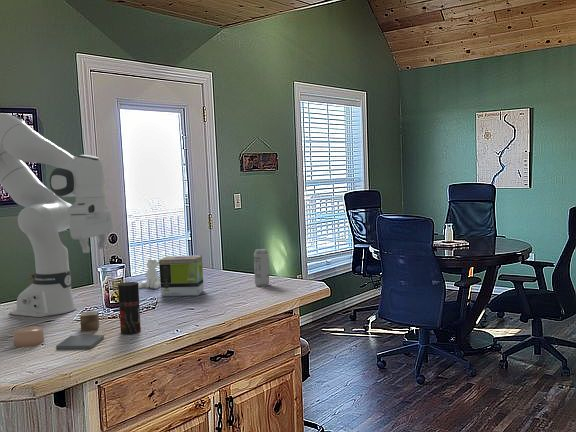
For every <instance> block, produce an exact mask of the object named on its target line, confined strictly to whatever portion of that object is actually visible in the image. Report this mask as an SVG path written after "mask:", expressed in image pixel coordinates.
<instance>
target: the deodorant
mask: <svg viewBox="0 0 576 432" xmlns="http://www.w3.org/2000/svg"><path fill="white" fill-rule="evenodd" d="M138 284H139V282H136V281H125V282H121V283H118V284H117V287H118V288H117V289H118V304H119V305H118V306H119V323H120V334H121V335H125V336H128V335H129V336H131V335H135V334H139V333H141V330H142V329H141V328H142V327H141V311H140V310H141V309H140V308H141V307H140V294H139V293H140V291H139V289H140V288H138Z"/></svg>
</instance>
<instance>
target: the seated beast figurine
mask: <svg viewBox="0 0 576 432" xmlns="http://www.w3.org/2000/svg"><path fill="white" fill-rule="evenodd" d="M146 266H147V270H146V273H145V276H146V279H145V280H143V281H141V282H138V288H139V289H143V288H145V289H146V288H149V287H150V288H151V289H155V290H156V289H159V288H160V286H161V284H160V275H158V274H159V273H158V270H157V268H158V266H159V261H157V259H154V258H149V259H147V263H146ZM150 288H149V289H150Z"/></svg>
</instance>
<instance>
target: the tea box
mask: <svg viewBox="0 0 576 432" xmlns="http://www.w3.org/2000/svg"><path fill="white" fill-rule="evenodd" d="M158 262H159V265H158V266H159V279H160V295H161V297H174V296H176V297H177V296H180V297H181V296H187V297H188V296H199V295H201V293H203V292H204V273H203V271H204V270H203V256H202V255H197V254H196V255H171V256H169V255H168V256H165V257H163V258H160V259H159V260H158Z"/></svg>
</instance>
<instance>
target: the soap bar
mask: <svg viewBox="0 0 576 432" xmlns="http://www.w3.org/2000/svg"><path fill="white" fill-rule="evenodd" d="M12 334H13V346H14V347H16V348H30V347H36V346H39V345H41V344H43V343H44V342H45V336H44V335H45V334H44V327H42V326H36V325H35V326H24V327H20V328H18V329H15V330H14V331H12Z"/></svg>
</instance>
